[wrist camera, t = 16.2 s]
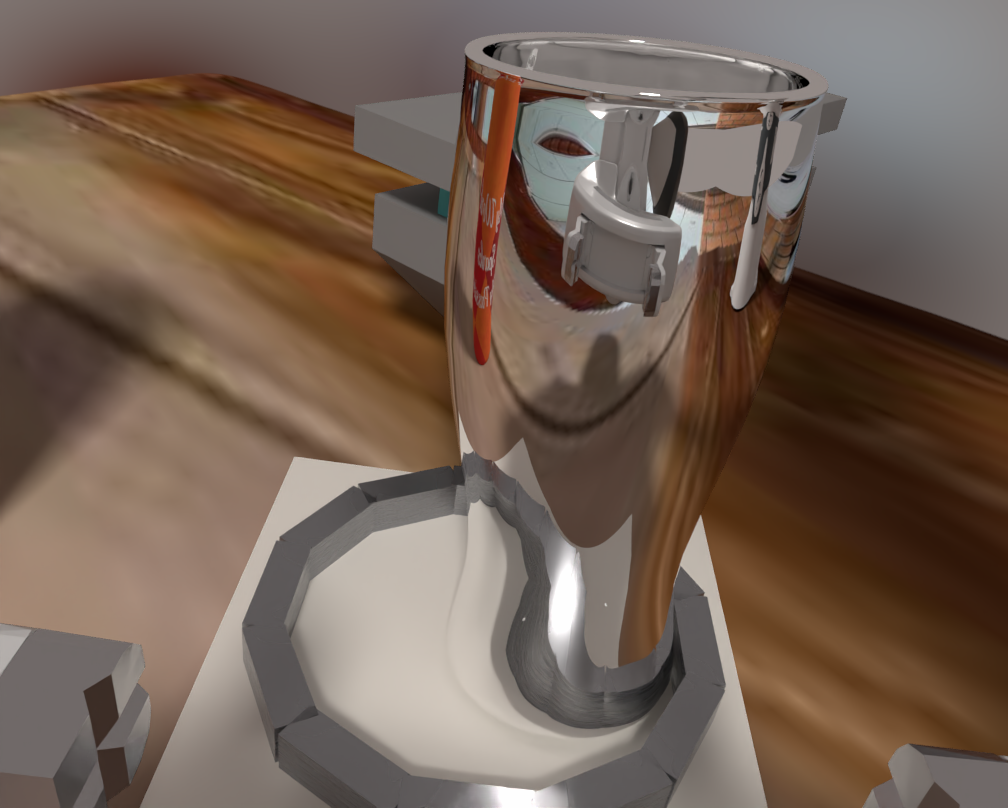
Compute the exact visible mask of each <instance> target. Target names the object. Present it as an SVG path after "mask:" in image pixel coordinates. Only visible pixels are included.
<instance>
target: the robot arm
mask: <svg viewBox="0 0 1008 808" xmlns="http://www.w3.org/2000/svg"><path fill="white" fill-rule="evenodd" d="M144 668H145V662H144V656H143V651H142V646H141V645H139V644H134V643H128V642H121V641H115V640H109V639H103V638H96V637H90V636H84V635H77V634H71V633H65V632H59V631H52V630H46V629H39V628H32V627H25V626H18V625H11V624H4V623H0V808H108V807H107V801H109V800H110V799H112V798H113V797H114V796H116V795H117V794H118V793H120V792H121V791H122V790H124V789H125V788H126V787H128V786H129V785H130V783H131V781H132V779H133V777H134V774H135V772H136V770H137V768H138V765H139V763H140V761H141V759H142V755H143V751H144V748H145V744H146V740H147V737H148V733H149V728H150V715H151V706H150V698H149V694H148V693H147V692H146V691H145V690H144V689H143V688H142V687H141V686H140V685H139V684H138V683H137V682H138V680H139V678H140V676H141V674H142V672H143V670H144ZM888 765H889V768H890V771H891V774H892V776H893V779H891V780H889V781H887V782H885V783H883V784H881V785H879V786H877V787H875V788H873V789H872V791H871V793H870V795H869V797H868V799H867V800H866V802H865V804H864V806H863V808H1008V756H998V755H996V754H993V753H985V752H976V751H968V750H959V749H951V748H942V747H933V746H925V745H916V744H906V745H904V746H902V747H900V748H898V749H897V750H896V752H895V753H894V755H893V756H892V758H891V759H890V761H889V763H888Z"/></svg>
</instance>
